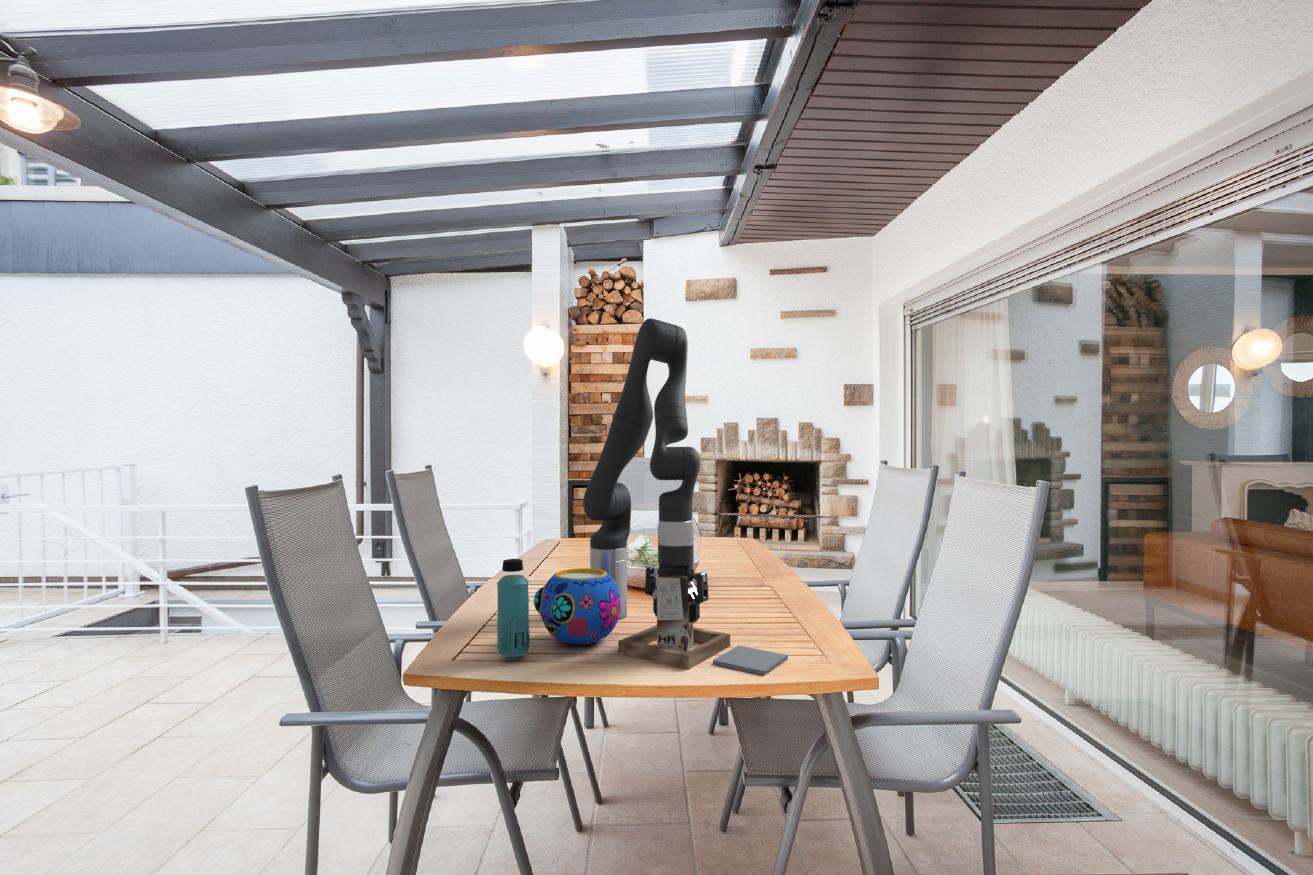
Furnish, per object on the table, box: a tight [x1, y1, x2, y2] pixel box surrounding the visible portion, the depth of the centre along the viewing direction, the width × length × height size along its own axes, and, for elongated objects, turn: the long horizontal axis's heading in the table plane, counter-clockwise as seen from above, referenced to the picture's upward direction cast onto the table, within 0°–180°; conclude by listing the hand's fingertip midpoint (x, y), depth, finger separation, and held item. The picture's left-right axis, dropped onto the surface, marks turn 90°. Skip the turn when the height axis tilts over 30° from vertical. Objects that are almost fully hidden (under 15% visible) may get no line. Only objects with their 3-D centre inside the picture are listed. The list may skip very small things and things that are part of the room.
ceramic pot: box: [533, 567, 621, 646], centre depth 142 cm, size 18×18×15 cm
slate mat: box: [712, 645, 789, 676], centre depth 129 cm, size 11×11×1 cm
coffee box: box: [656, 573, 694, 652], centre depth 137 cm, size 9×6×16 cm
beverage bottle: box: [496, 558, 531, 657], centre depth 131 cm, size 6×7×20 cm
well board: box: [617, 624, 731, 670], centre depth 137 cm, size 17×17×2 cm
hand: (676, 618), depth 137 cm, fingers open, 8 cm apart
